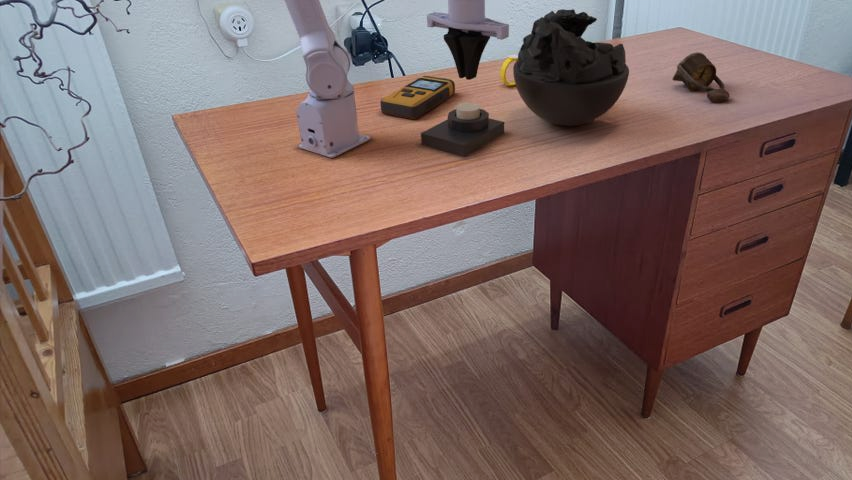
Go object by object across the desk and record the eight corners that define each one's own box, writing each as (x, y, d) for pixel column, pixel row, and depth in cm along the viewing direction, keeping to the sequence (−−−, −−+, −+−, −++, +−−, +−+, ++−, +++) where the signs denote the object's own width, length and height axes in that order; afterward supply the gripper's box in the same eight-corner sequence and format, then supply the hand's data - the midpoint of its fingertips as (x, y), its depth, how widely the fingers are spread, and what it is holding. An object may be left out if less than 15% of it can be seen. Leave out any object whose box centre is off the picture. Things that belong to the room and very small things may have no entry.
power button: (471, 122, 110) (471, 112, 109) (451, 117, 112) (451, 108, 111) (484, 115, 113) (484, 105, 112) (465, 110, 115) (465, 101, 114)
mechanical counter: (724, 56, 135) (678, 45, 134) (745, 70, 124) (694, 57, 123) (711, 91, 138) (665, 80, 137) (729, 107, 127) (680, 95, 126)
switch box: (464, 157, 107) (464, 134, 105) (421, 145, 111) (420, 122, 109) (504, 133, 115) (504, 111, 113) (462, 123, 119) (462, 101, 117)
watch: (506, 89, 134) (506, 60, 131) (497, 86, 136) (497, 57, 133) (528, 83, 137) (529, 55, 134) (519, 80, 139) (520, 52, 136)
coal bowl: (578, 96, 131) (586, -4, 120) (646, 129, 116) (661, 18, 106) (491, 114, 123) (492, 9, 112) (552, 152, 108) (559, 35, 98)
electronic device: (378, 115, 123) (376, 98, 121) (421, 89, 135) (419, 73, 133) (416, 122, 120) (415, 104, 118) (457, 95, 132) (456, 78, 130)
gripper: (520, -10, 100) (517, 78, 108) (444, -20, 107) (446, 63, 115) (494, -2, 95) (494, 90, 103) (416, -13, 102) (421, 74, 110)
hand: (467, 77), depth 108 cm, fingers closed
